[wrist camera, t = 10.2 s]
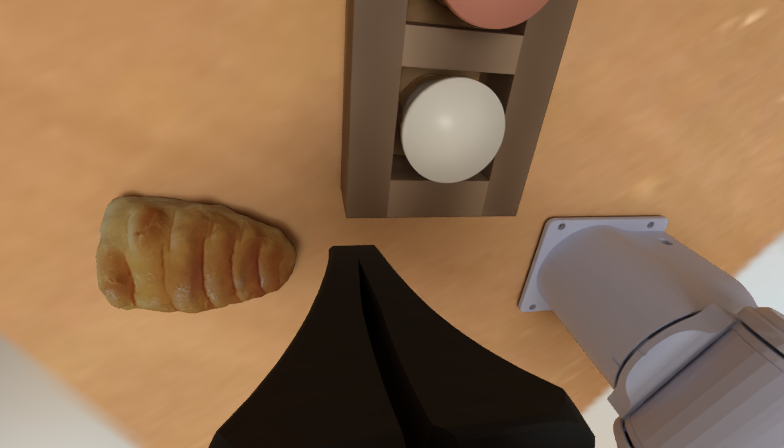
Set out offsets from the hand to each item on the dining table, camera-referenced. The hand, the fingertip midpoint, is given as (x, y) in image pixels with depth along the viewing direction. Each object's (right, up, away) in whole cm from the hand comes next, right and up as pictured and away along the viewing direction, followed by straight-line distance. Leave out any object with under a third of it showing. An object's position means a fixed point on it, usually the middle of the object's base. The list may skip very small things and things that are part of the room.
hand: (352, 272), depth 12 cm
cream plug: (+3, +7, +8) cm, 12 cm away
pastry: (-10, +1, +10) cm, 14 cm away
